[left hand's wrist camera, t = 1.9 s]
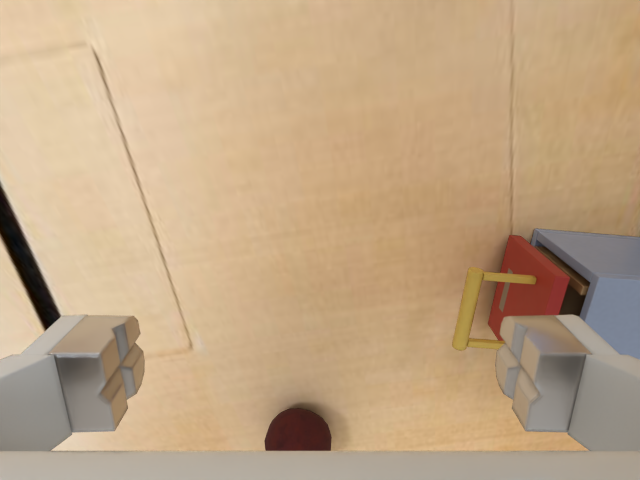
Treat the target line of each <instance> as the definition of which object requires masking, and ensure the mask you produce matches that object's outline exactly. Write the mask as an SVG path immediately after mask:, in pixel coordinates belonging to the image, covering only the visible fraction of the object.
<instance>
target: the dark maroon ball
mask: <svg viewBox="0 0 640 480" xmlns="http://www.w3.org/2000/svg"><path fill="white" fill-rule="evenodd" d="M265 449H266V451H331V434H330V430H329V427H328V424H327V423H326V422H325V421H324V419H323V418H321V417H320V416H319V415H317V414H315V413H313V412H311V411H309V410H304V409H299V408H296V409H288V410H285V411H283V412H281V413H280V414H278V415H277V416H276V417H275V418H274V419H273V421H272V422H271V424H270V426H269V429H268V432H267V435H266V438H265Z"/></svg>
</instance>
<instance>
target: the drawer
mask: <svg viewBox="0 0 640 480" xmlns="http://www.w3.org/2000/svg"><path fill="white" fill-rule="evenodd" d="M482 280H485V281H498V284H497V288H496V292H495V296H494V300H493V305H492V309H491V313H490V317H489V321H488V325H489V326H490V328H491V329H492V331H493V332H494V334H495V335H496V337H497V339H498V340H499V341H498V340H485V339H472V338H469V335H470V330H471V326H472V322H473V317H474V313H475V309H476V304H477V300H478V296H479V291H480V287H481V283H482ZM589 286H590V282H589V281H588V280H586V279H585V278H584V277H583V276H581V275H580V274H579V273H578V272H576V271H575V270H574V269H573V268H571V267H570V266H569V265H568V264H566V263H565V262H564V261H563V260H561V259H560V258H559V257H558V256H556V255H555V254H554V253H553V252H551V251H550V250H549V249H548V248H546V247H540V246H535V247H533V246H532V245H531V244H530V243H528V242H527V241H526V240H525V239H524V238H523V237H521V236H513V235H509V239H508V243H507V247H506V251H505V255H504V259H503V264H502V268H501V272H500V273H494V272H484V271H483V270H482V269H480V268H476V267H470V268H469V269H468V273H467V278H466V282H465V287H464V291H463V296H462V301H461V305H460V310H459V315H458V319H457V324H456V328H455V333H454V338H453V342H452V346H453V347H454V348H455V349H457V350H465V349H466V348H467V347H475V348H489V349H499V348H500V347H501V346H502V345H503V344H504V343H505V341H504V340H503V338H502V337H501V335H500V328H501V323H502V321H503V319H504V317H507V316H535V315H576V316H580V313H581V310H582V307H583V304H584V301H585V298H586V295H587V292H588V289H589Z"/></svg>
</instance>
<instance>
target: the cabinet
mask: <svg viewBox="0 0 640 480" xmlns="http://www.w3.org/2000/svg"><path fill="white" fill-rule="evenodd" d="M531 245H532V246H533V247H535V246H540V247H546V248H548V249H549V250H550V251H551V252H553V253H554V254H555V255H556V256H558V257H559V258H560V259H561V260H563V261H564V262H565V263H566V264H568V265H569V266H570V267H571V268H573V269H574V270H575V271H576V272H578V273H579V274H580V275H581V276H583V277H584V278H585V279H586V280H588V281H589V282H590V286H589V289H588V292H587V295H586V298H585V301H584V304H583V307H582V310H581V313H580V316H579V317H580V318H581V319H582V320H583V321H584V322H585V323H586V324H587V325H589V326H590V327H591V328H592V329H593V330H594V331H595V332H596V333H597V334H598V335H599V336H600V337H602V338H603V339H604V340H605V341H606V342H607V343H608V344H609V345H610V346H611V347H612V348H613V349H615V350H616V351H617V352H618V353H619V354H620V355H630V356H632V357H634V358H637V359H639V360H640V237H632V236H620V235H608V234H595V233H583V232H571V231H559V230H546V229H534V233H533V237H532V241H531Z"/></svg>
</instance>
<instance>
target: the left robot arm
mask: <svg viewBox="0 0 640 480" xmlns="http://www.w3.org/2000/svg"><path fill="white" fill-rule="evenodd" d="M139 335H140V329H139V323H138V320H137V319H136V318H135V317H134V316H112V315H65V316H61V317H60V318H59V319H58V320H57V321H56V322H55V323H54V324H53V325H52V326H50V327H49V328H48V329H47V330H46V331H45V332H44V333H43V334H42V335H41V336H40V337H39V338H37V339H36V340H35V341H34V342H33V343H32V344H31V345H30V346H29V347H28V348H27V349H26V350H24V351H23V352H22V353H21V354H20V355H10V356H8V357H6V358H3V359H1V360H0V480H640V360H639V359H637V358H634V357H632V356H630V355H620V354H619V353H618V352H617V351H616V350H615V349H613V348H612V347H611V346H610V345H609V344H608V343H607V342H606V341H605V340H604V339H603V338H602V337H600V336H599V335H598V334H597V333H596V332H595V331H594V330H593V329H592V328H591V327H590V326H589V325H587V324H586V323H585V322H584V321H583V320H582V319H581V318H580V317H579V316H576V315H535V316H507V317H504V319H503V321H502V323H501V328H500V335H501V337H502V338H503V340H504V341H505V343H504V344H503V345H502V346H501V347H500V348H499V349H498V350H497V354H496V362H495V367H496V377H497V380H498V383H499V386H500V388H501V390H502V392H503V393H504V394H505V395H506V396H508V397H510V398H511V399H513V405H512V409H513V411H514V412H515V414H516V416H517V418H518V419H519V421H520V423H521V424H522V426H523V428H524V430H525V431H537V432H568V435H570V436H571V437H572V438H574V439H575V440H576V441H578V442H579V443H580V444H581V445H583V446H584V447H585V448H587V449H588V450H589V451H51V450H52V449H53V448H55V447H56V446H57V445H59V444H60V443H61V442H63V441H64V440H65V439H67V438H68V437H69V436H71V435H72V432H102V431H115V430H116V428H117V426H118V424H119V423H120V421H121V419H122V418H123V416H124V414H125V412H126V411H127V409H128V405H127V399H129V398H130V397H132V396H134V395H135V394H136V393H137V392H138V390H139V388H140V386H141V384H142V380H143V375H144V366H145V360H144V353H143V350H142V349H141V348H140V347H139V346H138V345H137V344H136V343H135V341H136V340H137V338H138V337H139Z"/></svg>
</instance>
